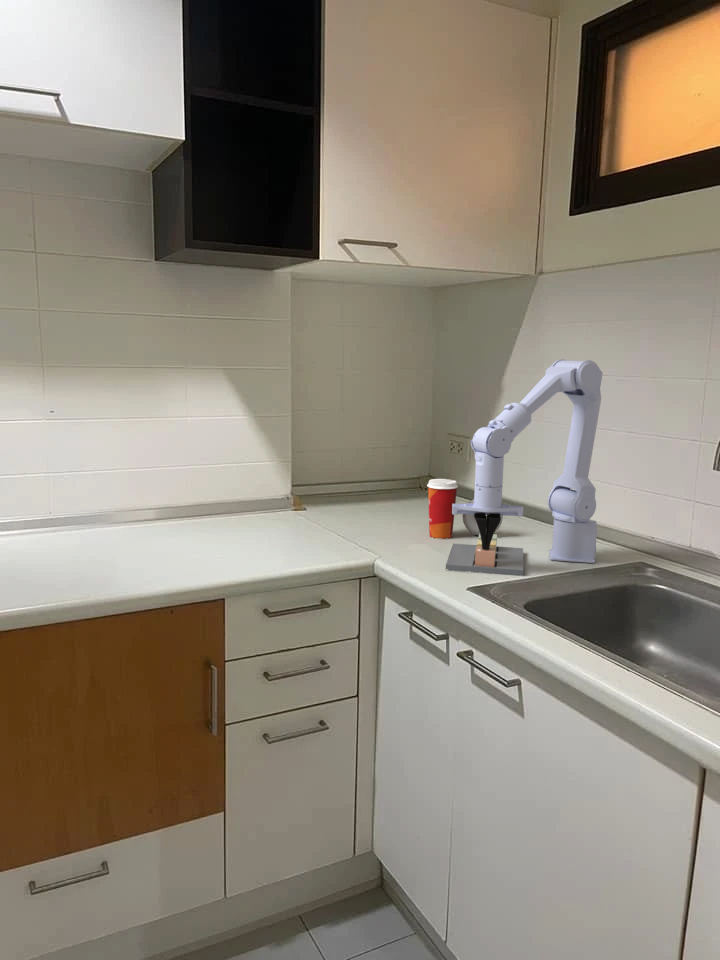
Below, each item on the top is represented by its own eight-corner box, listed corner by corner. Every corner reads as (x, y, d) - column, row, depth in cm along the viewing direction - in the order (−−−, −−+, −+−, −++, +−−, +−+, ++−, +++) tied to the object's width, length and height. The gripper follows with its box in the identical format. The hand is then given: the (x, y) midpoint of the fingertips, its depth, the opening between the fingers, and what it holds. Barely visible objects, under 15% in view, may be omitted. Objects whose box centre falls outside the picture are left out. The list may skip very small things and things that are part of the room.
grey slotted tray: (522, 553, 172) (523, 548, 171) (523, 575, 154) (523, 570, 154) (452, 548, 175) (453, 543, 175) (445, 570, 157) (445, 564, 157)
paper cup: (438, 531, 192) (439, 477, 189) (462, 536, 186) (464, 481, 184) (418, 536, 186) (420, 480, 184) (443, 541, 181) (445, 484, 178)
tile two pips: (495, 554, 166) (496, 540, 165) (495, 559, 162) (495, 544, 161) (477, 553, 167) (478, 539, 166) (476, 558, 163) (477, 543, 162)
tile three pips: (494, 562, 160) (495, 547, 159) (494, 567, 156) (494, 551, 156) (475, 560, 161) (476, 545, 160) (474, 565, 157) (475, 550, 156)
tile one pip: (496, 547, 172) (497, 533, 171) (495, 552, 168) (496, 538, 167) (478, 546, 172) (479, 532, 172) (477, 551, 169) (478, 536, 168)
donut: (461, 536, 186) (463, 497, 184) (461, 533, 189) (462, 494, 188) (502, 538, 185) (504, 499, 183) (501, 535, 188) (503, 496, 187)
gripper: (520, 482, 159) (517, 544, 161) (452, 480, 160) (450, 542, 162) (525, 488, 152) (522, 553, 154) (454, 486, 153) (451, 550, 155)
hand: (485, 548), depth 158 cm, fingers closed
